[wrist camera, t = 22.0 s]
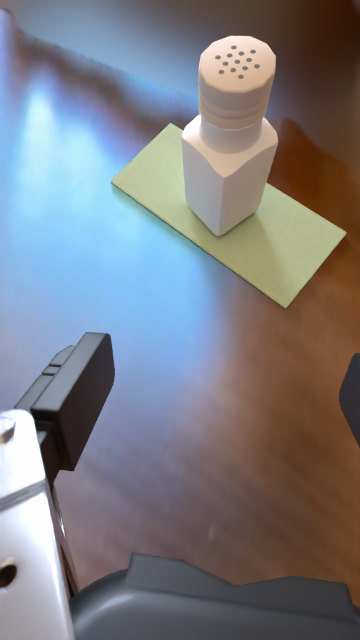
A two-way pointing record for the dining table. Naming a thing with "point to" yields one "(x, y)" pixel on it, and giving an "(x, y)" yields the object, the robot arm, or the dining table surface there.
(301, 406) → the dining table surface
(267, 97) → the salt shaker
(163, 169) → the edge strip
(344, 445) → the dining table surface
